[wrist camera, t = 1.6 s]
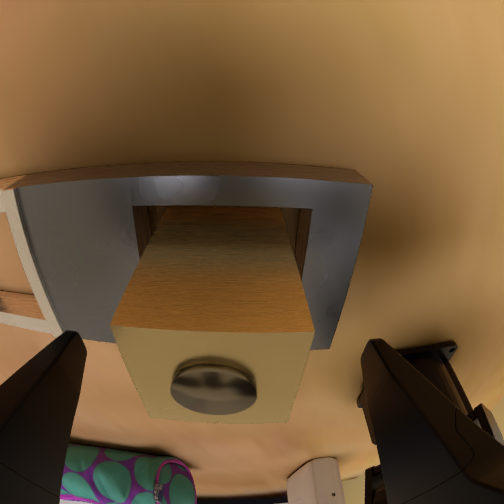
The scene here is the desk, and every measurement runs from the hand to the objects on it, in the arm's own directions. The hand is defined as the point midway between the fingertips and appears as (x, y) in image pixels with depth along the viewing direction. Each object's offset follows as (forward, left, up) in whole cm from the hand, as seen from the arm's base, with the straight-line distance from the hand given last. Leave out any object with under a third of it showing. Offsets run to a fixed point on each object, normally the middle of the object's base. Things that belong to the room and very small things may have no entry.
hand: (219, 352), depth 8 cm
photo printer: (-10, +32, -5) cm, 34 cm away
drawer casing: (+6, 0, -5) cm, 8 cm away
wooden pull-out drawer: (0, 0, -5) cm, 5 cm away
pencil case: (+15, +29, -6) cm, 33 cm away
